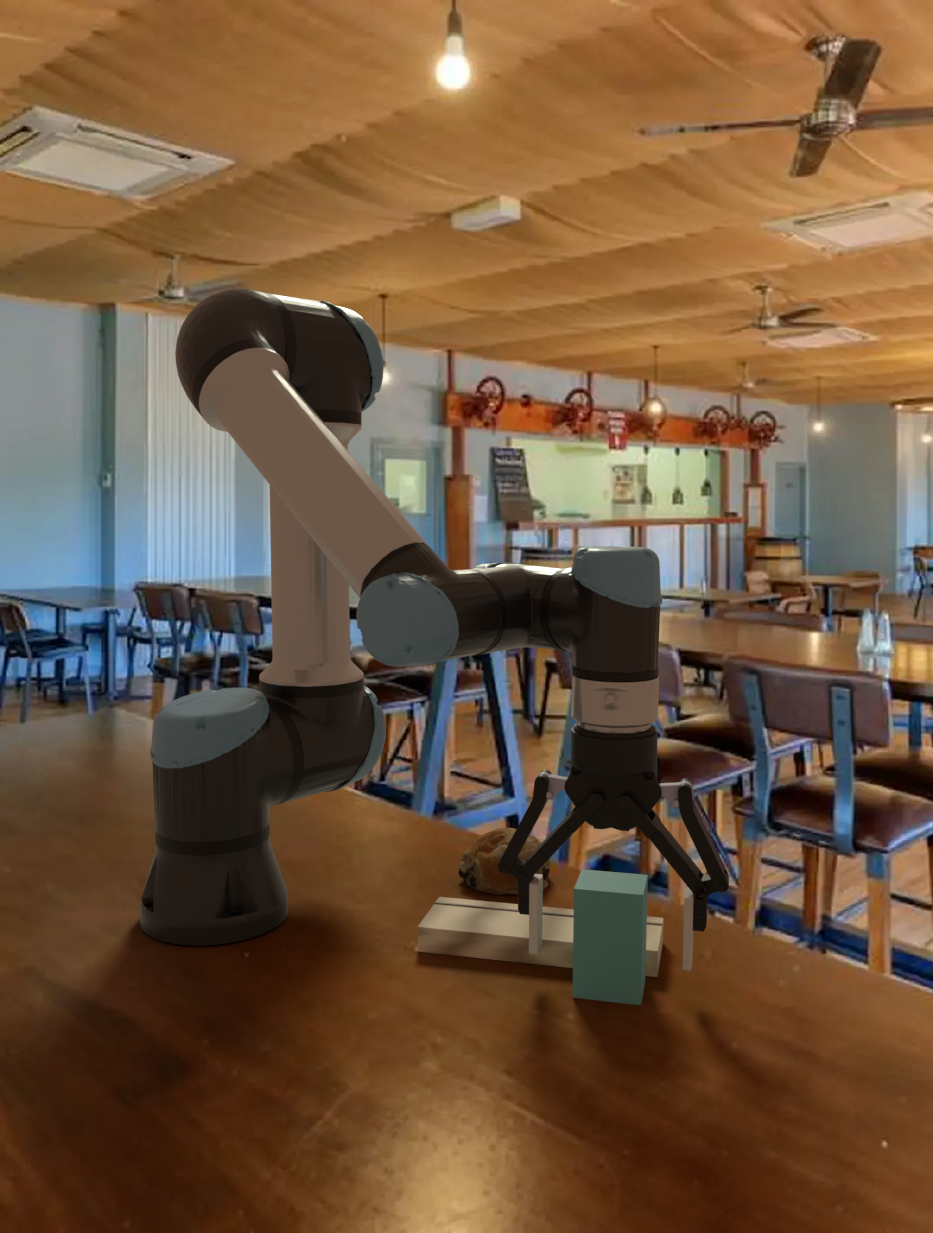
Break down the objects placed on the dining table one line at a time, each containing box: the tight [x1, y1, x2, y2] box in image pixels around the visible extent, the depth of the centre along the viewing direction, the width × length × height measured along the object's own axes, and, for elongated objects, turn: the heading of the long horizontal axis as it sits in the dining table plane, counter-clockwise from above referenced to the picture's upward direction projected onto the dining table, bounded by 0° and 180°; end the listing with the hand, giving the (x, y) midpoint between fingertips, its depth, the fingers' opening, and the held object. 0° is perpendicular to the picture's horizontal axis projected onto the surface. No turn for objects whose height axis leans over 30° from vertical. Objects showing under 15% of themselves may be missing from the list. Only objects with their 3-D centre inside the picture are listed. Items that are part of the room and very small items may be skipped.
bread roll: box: [458, 827, 551, 896], centre depth 124 cm, size 10×10×8 cm
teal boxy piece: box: [572, 868, 649, 1006], centre depth 101 cm, size 6×13×10 cm, turn 166°
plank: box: [417, 896, 664, 978], centre depth 106 cm, size 23×8×3 cm, turn 76°
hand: (610, 956), depth 97 cm, fingers open, 13 cm apart
